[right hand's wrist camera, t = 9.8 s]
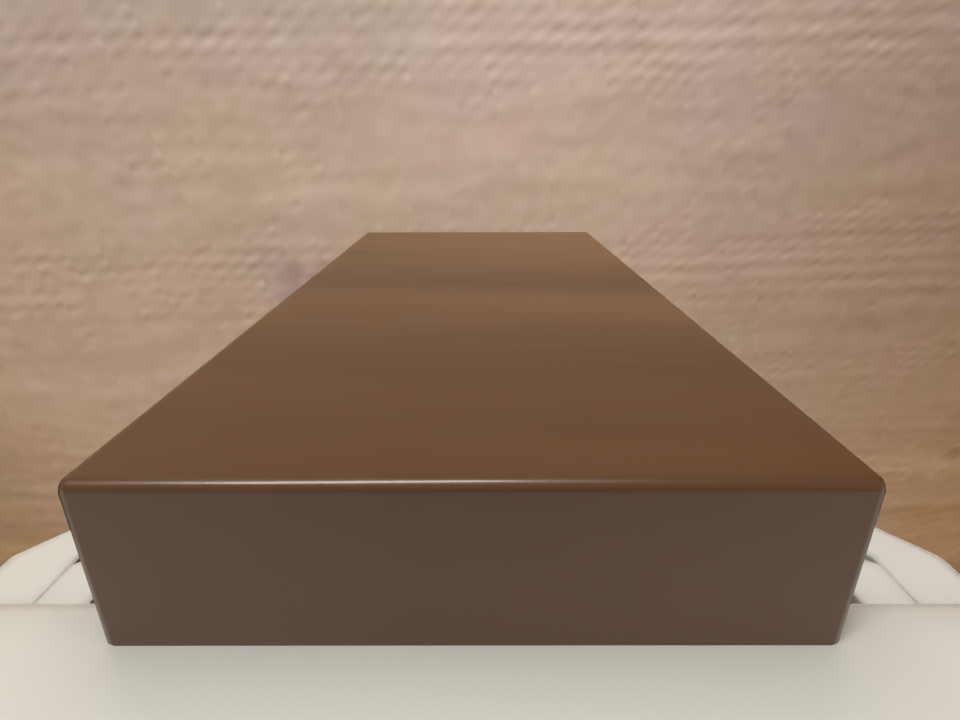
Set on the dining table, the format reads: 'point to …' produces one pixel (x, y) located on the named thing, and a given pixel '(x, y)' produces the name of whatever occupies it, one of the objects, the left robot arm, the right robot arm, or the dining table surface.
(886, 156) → the dining table surface
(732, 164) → the dining table surface
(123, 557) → the box
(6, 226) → the dining table surface
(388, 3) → the dining table surface
